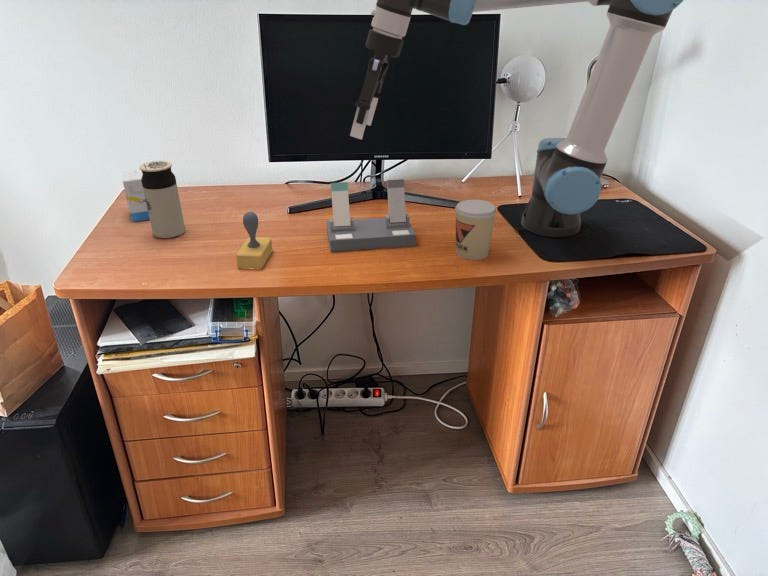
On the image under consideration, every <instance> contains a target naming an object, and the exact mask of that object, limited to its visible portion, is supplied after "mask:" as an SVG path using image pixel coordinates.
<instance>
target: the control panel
mask: <svg viewBox="0 0 768 576" xmlns="http://www.w3.org/2000/svg"><path fill="white" fill-rule="evenodd" d="M410 217H411V216H410V215H409V214H408V213H406V223H395V224H390V223H389V214H385V217H375V218H374V217H373V218H371V217H370V218H360V219H359V218H358V219H354V217H350V226H349V227H334V222H333V218H329V220H326V233H327V238H328V239H327V240H328V244H329V245H328V246H329V251H330V253H333V252H334V253H335V252H336V253H337V252H349V251H350V252H351V251H361V250H363V251H364V249H365V250H375V249H378V250H379V249H389V248H390V249H391V248H392V249H393V248H403V247H404V248H405V247H415V246H416V244H417V243H416V242H417V241H416V240H417V239H416V238H417V234H416V232H415V230H414V228H413V226H412V225H411V221H410V219H411V218H410Z"/></svg>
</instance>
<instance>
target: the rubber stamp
mask: <svg viewBox="0 0 768 576" xmlns="http://www.w3.org/2000/svg"><path fill="white" fill-rule="evenodd" d="M242 224H243V227H244V229H245V230H246V232H247V234H248V236H249V237H247V238H246V240H245V241H244V242H243V244H242V246H241V247H240V248H239V250H238V252H237V253H236V255H235V256H236V257H235V258H236V263H237V264H236V265H237V268H238V269H239V268H254V269H253V270H259V269H261V268H262V269H263V268H264V267H265V265H266V263H267V261H268V259H269V257H270V256H271V253H272V252H273V243H272V241H273V240H272V238H271V237H266V236H265V237H263V236H262V237H259V236H257V231H258V228H259V227H258V226H259V218H258V215H257V213H255V212H254V211H247V212H246V213H244V215H243V216H242ZM257 268H258V269H257ZM262 269H261V270H262Z"/></svg>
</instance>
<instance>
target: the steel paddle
mask: <svg viewBox="0 0 768 576" xmlns="http://www.w3.org/2000/svg"><path fill="white" fill-rule="evenodd" d="M386 185H387V186H386V188H387V189H386V190H387V205H388V207H387V208H388V217H389V223H390V224H395V223H406V214H407V212H406V198H405V178H404V179H403V178H402V179H387V180H386Z"/></svg>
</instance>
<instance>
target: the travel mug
mask: <svg viewBox="0 0 768 576" xmlns="http://www.w3.org/2000/svg"><path fill="white" fill-rule="evenodd" d="M172 166H173V164H172V162H170V161H168V160H167V161H166V160H153V161H148V162H145V163H142V164H141V165H139V170H141V171H142V173H143V175H142V179H141V182H142V187H143V191H144V196H145V200H146V205H147V209H148V214H149V218H150V220H149V221H150V227H151V231H152V234H153V236H154V237H156V238H160V239H173V238H176V237H179V236H180V235H182V234H183V233H185V232H186V225H185V221H184V215H183V210H182V209H183V208H182V206H181V199H180V194H179V189H178V184H177V179H176V175H175V174H174V173H173V172H172Z"/></svg>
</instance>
